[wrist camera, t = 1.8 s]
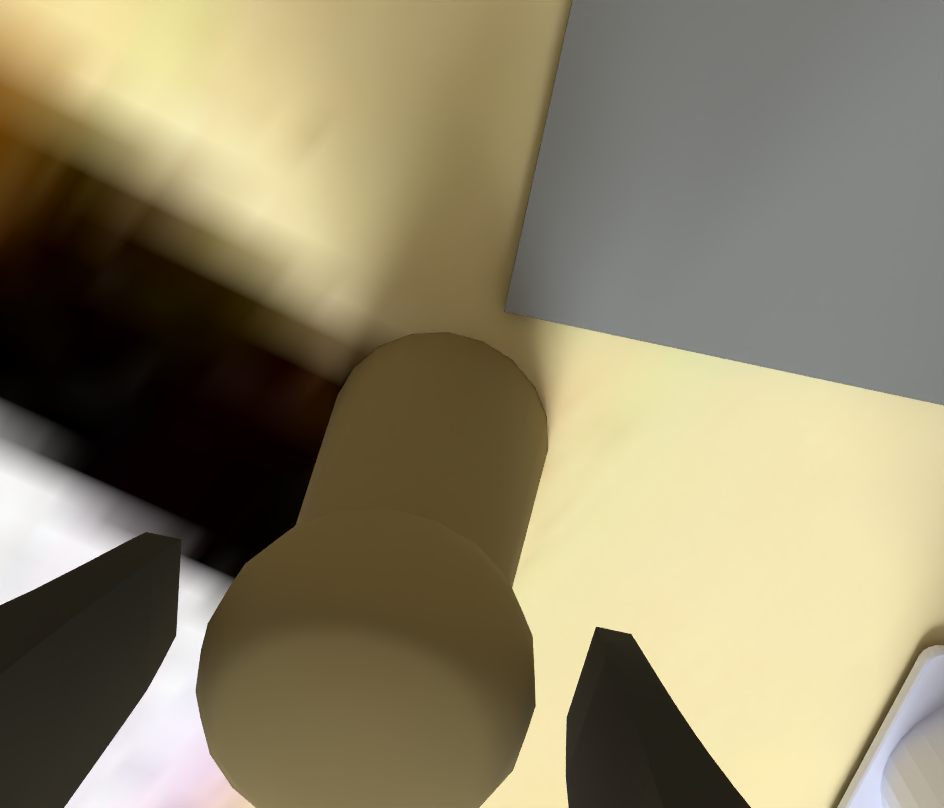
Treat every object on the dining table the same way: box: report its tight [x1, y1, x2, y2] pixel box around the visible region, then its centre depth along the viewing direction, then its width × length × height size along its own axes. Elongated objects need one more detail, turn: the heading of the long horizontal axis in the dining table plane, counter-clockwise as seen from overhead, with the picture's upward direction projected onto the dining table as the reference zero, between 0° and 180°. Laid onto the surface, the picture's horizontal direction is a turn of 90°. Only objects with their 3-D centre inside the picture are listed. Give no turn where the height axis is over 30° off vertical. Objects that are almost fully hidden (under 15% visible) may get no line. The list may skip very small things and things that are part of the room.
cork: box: [196, 333, 548, 808], centre depth 15 cm, size 6×6×11 cm
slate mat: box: [504, 0, 944, 405], centre depth 16 cm, size 12×12×1 cm
